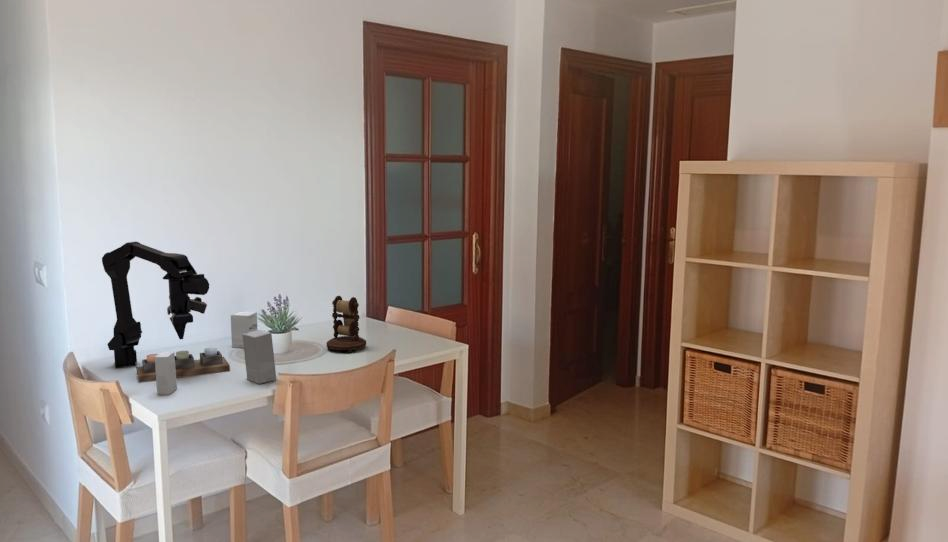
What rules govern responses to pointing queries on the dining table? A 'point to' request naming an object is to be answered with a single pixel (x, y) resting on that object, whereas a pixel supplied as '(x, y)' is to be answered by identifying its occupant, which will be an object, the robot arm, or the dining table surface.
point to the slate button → (210, 351)
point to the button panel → (187, 367)
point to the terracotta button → (151, 358)
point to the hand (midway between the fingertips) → (181, 339)
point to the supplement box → (242, 326)
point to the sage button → (182, 355)
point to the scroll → (346, 326)
